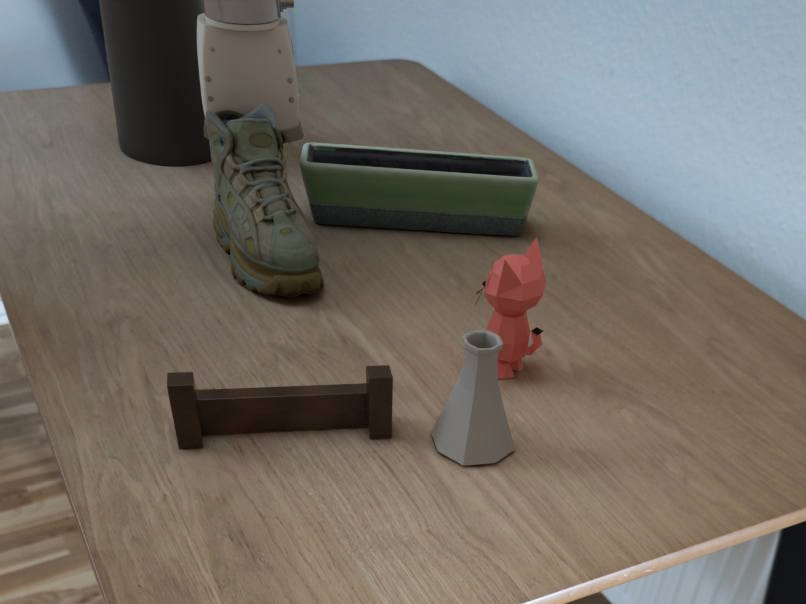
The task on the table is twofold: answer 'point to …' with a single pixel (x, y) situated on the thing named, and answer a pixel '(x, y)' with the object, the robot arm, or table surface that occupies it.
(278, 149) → the sneaker
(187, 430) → the wooden hurdle
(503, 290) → the cat figurine
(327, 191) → the planter
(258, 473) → the table surface
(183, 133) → the vase
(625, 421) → the table surface
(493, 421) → the flask
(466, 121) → the table surface
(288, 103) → the robot arm
